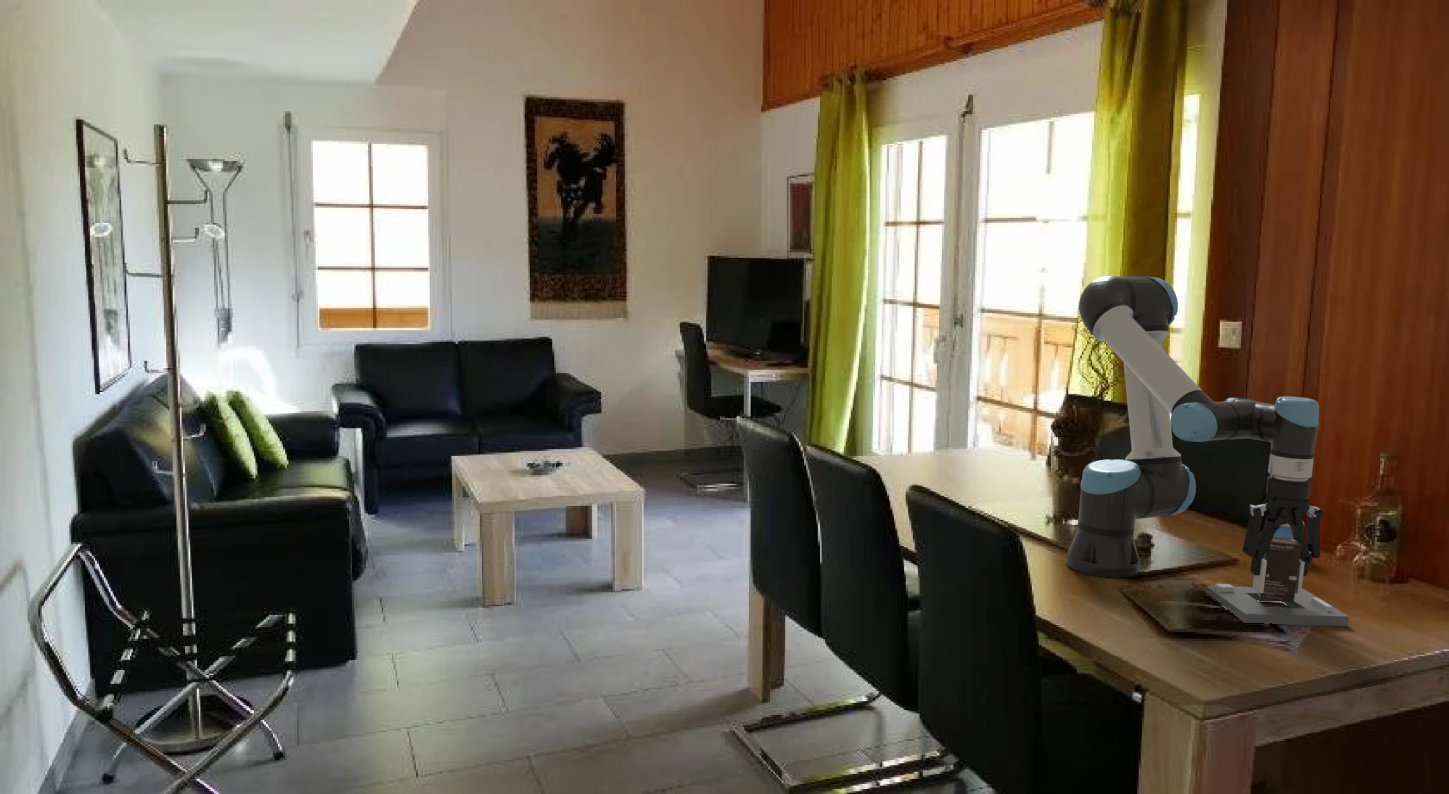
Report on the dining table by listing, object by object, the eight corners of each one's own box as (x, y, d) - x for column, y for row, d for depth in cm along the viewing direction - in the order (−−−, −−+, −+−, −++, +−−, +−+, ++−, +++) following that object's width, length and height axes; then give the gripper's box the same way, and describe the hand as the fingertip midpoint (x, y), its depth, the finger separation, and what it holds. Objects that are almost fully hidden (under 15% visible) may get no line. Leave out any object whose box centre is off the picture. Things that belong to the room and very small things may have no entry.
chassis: (1244, 623, 202) (1245, 608, 201) (1205, 595, 217) (1206, 581, 217) (1348, 626, 202) (1350, 611, 202) (1301, 597, 218) (1303, 583, 217)
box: (1261, 600, 208) (1267, 540, 206) (1257, 593, 212) (1263, 534, 210) (1295, 604, 206) (1302, 544, 204) (1290, 597, 210) (1297, 538, 209)
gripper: (1248, 480, 202) (1236, 596, 205) (1351, 482, 202) (1337, 598, 206) (1229, 471, 209) (1218, 583, 213) (1328, 474, 210) (1315, 586, 213)
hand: (1276, 591), depth 209 cm, fingers closed on box, 7 cm apart
